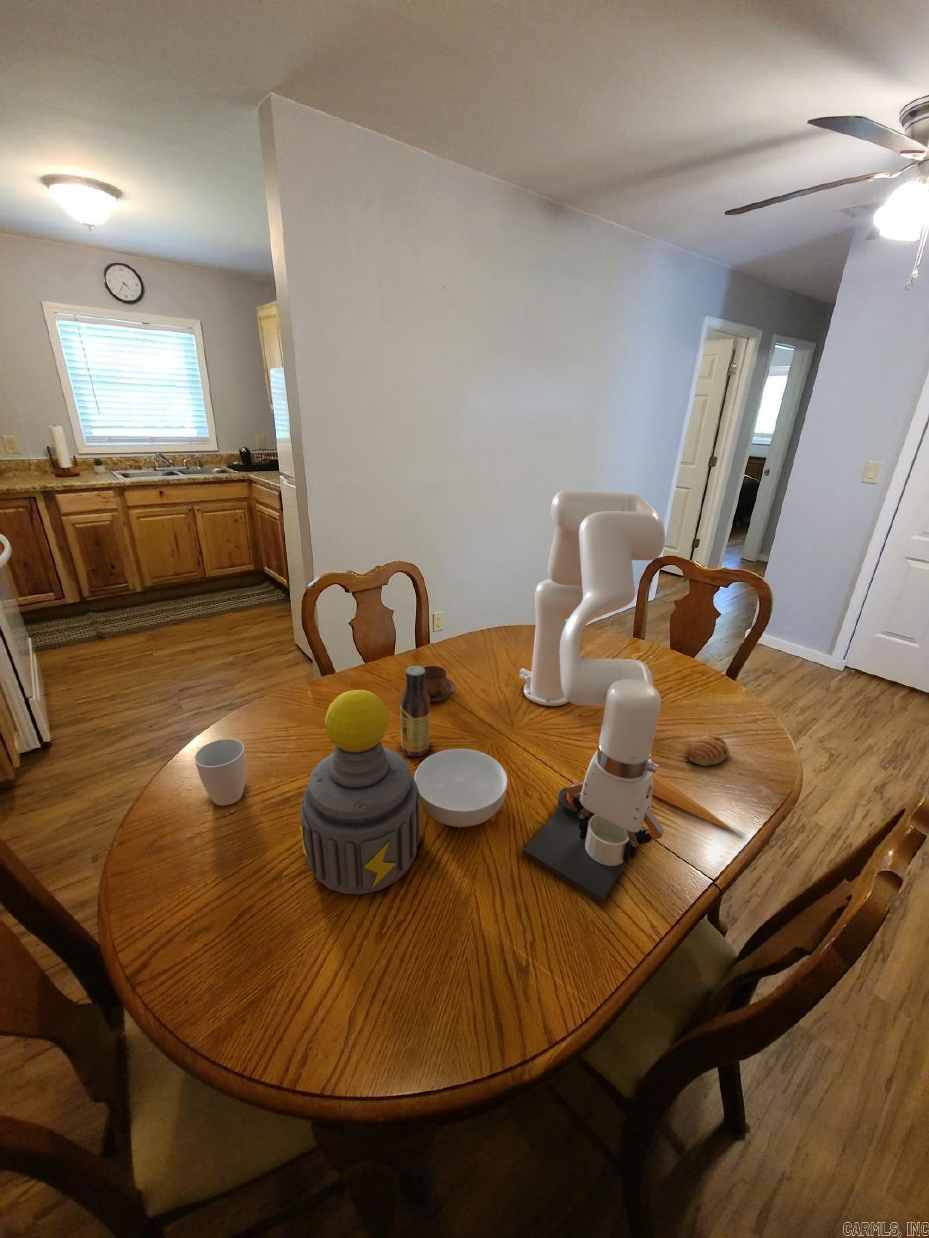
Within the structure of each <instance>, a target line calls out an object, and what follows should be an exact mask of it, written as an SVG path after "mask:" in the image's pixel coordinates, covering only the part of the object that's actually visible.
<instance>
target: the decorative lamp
mask: <svg viewBox="0 0 929 1238" xmlns="http://www.w3.org/2000/svg"><path fill="white" fill-rule="evenodd" d="M324 723H325V730H326V731H325V732H326V735H327V736H328V738H329V739H330V741H331V743H332V744H333V745H334V751H333V752H332V753H330V754H328V756H326V757H324V758H323V759H321V760H320V761H319V763H317V764H316V766H314V768H313V769H312V771H311V773H310V775H309V778H308V781H307V786H306V789H305V791H304V793H303V799H302V805H301V806H300V822H301V823H300V824H301V826H299V831H300V832H299V833H300V838H301V842H302V852H303V854H304V855H305V857H304V858H305V862H306V864H307V866H308V868H309V871H311V873H312V874H314V876H315V878H316V880H317V881H318V882H320V883H321V884H322V885H324V886H325V887H326V888H327V889H328V890H332V891H335V892H338V893H341V894H344V895H365V894H369V893H374V892H377V891H378V892H379V891H381V890H383V889H385V888H387V887H388V886H390V885H392V884H394V883H397V881H398V880H400V879H401V877H402V876H403V875H405V874H406V873H407V871H409V869H410V868H411V865H412V864H413V862H414V860H415V858H416V856H417V846H418V845H420V842H421V841H420V840H421V812H422V811H423V809H422V807H421V804H420V794H419V790H418V787H417V784H416V782H415V780H414V777H415V776H414V775H413V773H411V770H410V766H409V764H408V762H407V761H406V759H405V758H404V757H402V755H400V753H398V752H396V751H394V750H392V749H390V748H387V747H384V746H383V744H382V740H383V738H384V737H385V734H386V732H387V729H388V726H389V714H388V711H387V708H386V706H385V704H384V701H383V700H382V699H380V698H379V697H378V696H377V695H376V694H374V693H373V692H371V691H369V690H366V689H353V690H352V689H351V690H348V691H344V692H342V693H341V694H338V696H337V697H336V698H335V699H333V701H332V702H331V703H330V704H329V706H328V709H327V710H326V714H325V717H324Z"/></svg>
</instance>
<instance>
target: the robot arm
mask: <svg viewBox="0 0 929 1238" xmlns="http://www.w3.org/2000/svg"><path fill="white" fill-rule="evenodd" d="M550 514H551V519H552V522H553V526H554V533H553V537H552V543H551V547H550V552H549V556H548V562H547V569H546V570H547V576H548V578H549V579H544V580H542V581H540V582H539V583H538V584H537V585H536V586H535V590H534V606H535V627H534V628H535V629H534V641H533V650H532V660H531V661H532V663H531V671H530V670H528V669H525V668H523V667H522V668H520V670H519V675H518V679H519V680H521V681H525V684H524V686H523V694H524V696H525V697H526V698H527V699H528V700H529V701H531V702H532V703H535V704H537V705H541V706H547V707H558V706H563V705H566V704H568V703H570V704H572V705H574V706H575V705H576V706H586V707H587V706H590V707H595V706H596V707H599V706H601V707H603V706H604V710H603V716H602V722H601V727H600V734H599V739H598V746H597V750H596V751H595V752H594V753H593V756H592V758H591V760H590V762H589V765H588V767H587V770H586V773H585V777H584V780H581V781H577V782H573V783H570V784H569V785H568V786H566V787H567V789H566V790H567V792H568V794H569V796H570V797H571V799H572V800H573V801H572V802H573V804H574V806H575V807H576V809H577V811H578V812H579V813H578V816H579V818H580V823H579V829H580V830H581V832H580V838H581V839H582V840H583V839H585V838H586V833H587V827H588V821H589V820H590V818H591V817H592V816H593V815H594V814H596V815H598V816H600V817H602V818H604V819H606V820H608V821H609V822H611V823H613V824H615V825H617V826H619V827H621V828H623V829H626V831H627V834H628V837H629V840H628V842H627V844H626V847H625V852H624V857H623V861H624V863H626V865H628V863H629V862H630V860H631V859H633V860H635V859H636V857H637V854H638V853H639V847H640V845H643V844H648V843H651V841H656V840H659V839H662V838H663V836H664V834H665V829H664V828H663V826H662V825H661V824H660V822H659V821H658V820H657V818H656V817H655V816H654V814H653V813H652V812H651V808H652V800H653V795H652V791H653V773H655V774H657V773H658V770H659V764H657V763H655V762H654V761H653V760H652V759H653V758H652V755H653V754H652V748H653V745H654V739H655V734H656V730H657V725H658V721H659V715H660V711H661V707H662V698H661V693H660V692H659V691H658V690H657V688H656V687H654V678H653V674H652V672H651V670H650V669H649V667H648V665H647V664H646V663H645V662H644V661H642V660H639V659H631V658H600V657H599V658H597V657H596V658H595V657H594V658H593V657H592V658H591V657H584V658H582V657H581V654H580V641H581V640H580V638H581V634H582V633H583V630H584V628H585V627H586V626H587V624H588V623H589V622H591V621H593V620H595V619H598V618H600V617H602V616H604V615H607V614H610V613H613V612H616V611H618V610H621V609H622V608H625V607H627V606H629V605H630V604H631V603H633V601H634V600H635V598H636V588H635V578H634V571H633V570H634V569H633V561H654V560H656V559H658V558H659V557H660V556H661V555H662V553H663V550H664V548H665V544H666V530H665V526H664V523H663V520H662V517H660V515H659V513H658V512H657V511H656V510H655V509H654V507H652V506H651V505H650V504H649V503H648V502H647V501H646V500H645V499H644V498H643V497H642V496H640V495H638V494H636V493H635V494H634V493H625V492H600V491H580V490H579V491H578V490H568V489H567V490H560V491H558V492H556V494H555V495H554V496H553V498H552V501H551V506H550ZM566 619H567V620H566ZM652 772H653V773H652ZM579 792H581V795H580V793H579ZM644 823H645V825H646V826H647V827H648V829H645V830H643V829H642V826H643V824H644Z"/></svg>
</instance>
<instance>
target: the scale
mask: <svg viewBox="0 0 929 1238" xmlns="http://www.w3.org/2000/svg"><path fill="white" fill-rule="evenodd" d="M567 787H568V786H565V787H563V788H562V789H561V790H560V791H559V792H558V796H557V806H558V809H557V810H556V812H554V813H553V815H552V816H551V817H550V818H549V819H548V820H547V822H546V823H545V824H544V825H543V827H542V828H541V829H540V830H539V831H538V832H537V833H536V835H534V837H533V838H532V839H531V840H530V841H529V843H528V844H527V845H526V846H525V847H524V849H523V852H522V856H523V857H525V858H526V859H528V860H529V861H531V862H532V863H534V864H535V865H537V866H539V867H540V868H542V869H544V870H546V871H547V872H549V874H552V875H553V876H555V877H557V878H559V879H560V880H561V881H563V882H565V883H567V884H568V885H570V886H571V887H572V888H574V889H576V890H578V891H579V892H581V893H583V894H584V895H585V896H587V897H589V898H590V899H592V900H594V901H595V902H597V903H599V904H600V905H602V904H603V903H604V901H605V900H606V898H607V896H608V895H609V893H610V892H611V890H612V888H613V886H614V884H615V883H616V882H617V880H618V878H619V876H620V875H621V873H622V871H623V869H624V868H625V866H626V865H627V864H626V863H624V862H623V863H621V864H619V865H616V866H607V865H603V864H601V863H598V862H597V861H595V860H594V859H592V858H591V857H590V856H589V854H588V853H587V851H586V848H585V839H586V838H585V839H583V840H582V839H581V838H580V832H581V830H580V829H579V823H580V818H579V816H578V813H579V812H578V811H577V809H576V807H575V806H573V805H571V804H569V803H568V801H567V790H566V789H567ZM594 815H596V814H594ZM642 829H643V830H646V827H644V826H643V825H642Z"/></svg>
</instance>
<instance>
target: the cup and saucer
mask: <svg viewBox="0 0 929 1238" xmlns="http://www.w3.org/2000/svg"><path fill="white" fill-rule="evenodd" d="M423 668H424V669H425V673H426V674H425V675H426V676H425V679H424V682H425V684H424V685H425V690H426V691H427V693H428V695H429V697H430V703H431V702H433V703H434V702H440V701H441V702H442V701H444V700H446V699H449V698H450V697H451V696H453V694H454V693H455V691H456V685H455V683H454V682H453V681H452V680H450V679H449V678H447V675H448V674H447V673H448V672H447V670H446V669H445V668H443V667H441V666H438V665H437V666H436V665H428V666H423Z"/></svg>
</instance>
